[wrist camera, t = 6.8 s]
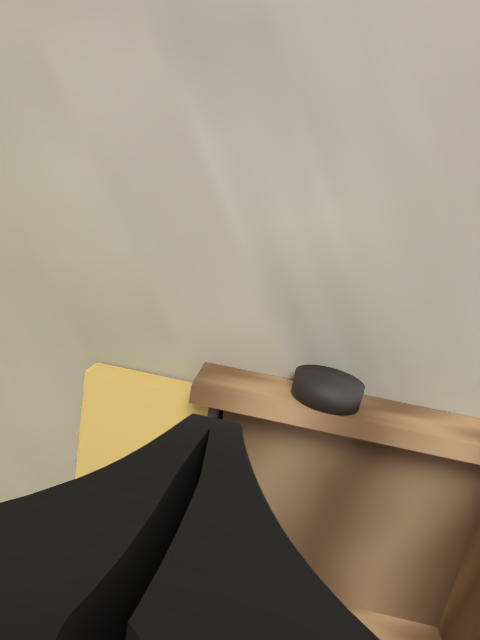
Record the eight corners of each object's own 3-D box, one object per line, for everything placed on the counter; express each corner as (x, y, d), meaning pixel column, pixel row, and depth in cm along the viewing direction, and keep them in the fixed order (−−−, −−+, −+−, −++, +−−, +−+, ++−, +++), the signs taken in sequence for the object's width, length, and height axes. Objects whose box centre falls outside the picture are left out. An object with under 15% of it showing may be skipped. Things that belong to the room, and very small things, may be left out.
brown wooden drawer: (519, 406, 18) (609, 469, 13) (433, 634, 21) (480, 755, 16) (208, 342, 19) (183, 380, 14) (169, 571, 22) (138, 668, 17)
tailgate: (221, 395, 18) (85, 366, 18) (189, 570, 20) (69, 540, 20) (225, 385, 19) (97, 358, 19) (195, 551, 21) (80, 524, 21)
